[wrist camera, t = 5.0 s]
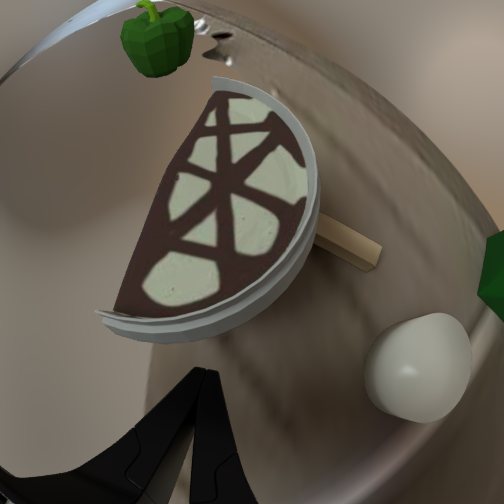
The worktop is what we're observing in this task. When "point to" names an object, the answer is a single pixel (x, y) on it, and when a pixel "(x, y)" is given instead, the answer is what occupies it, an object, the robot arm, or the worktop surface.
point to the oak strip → (346, 243)
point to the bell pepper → (158, 39)
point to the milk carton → (493, 275)
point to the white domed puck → (419, 368)
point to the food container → (222, 222)
